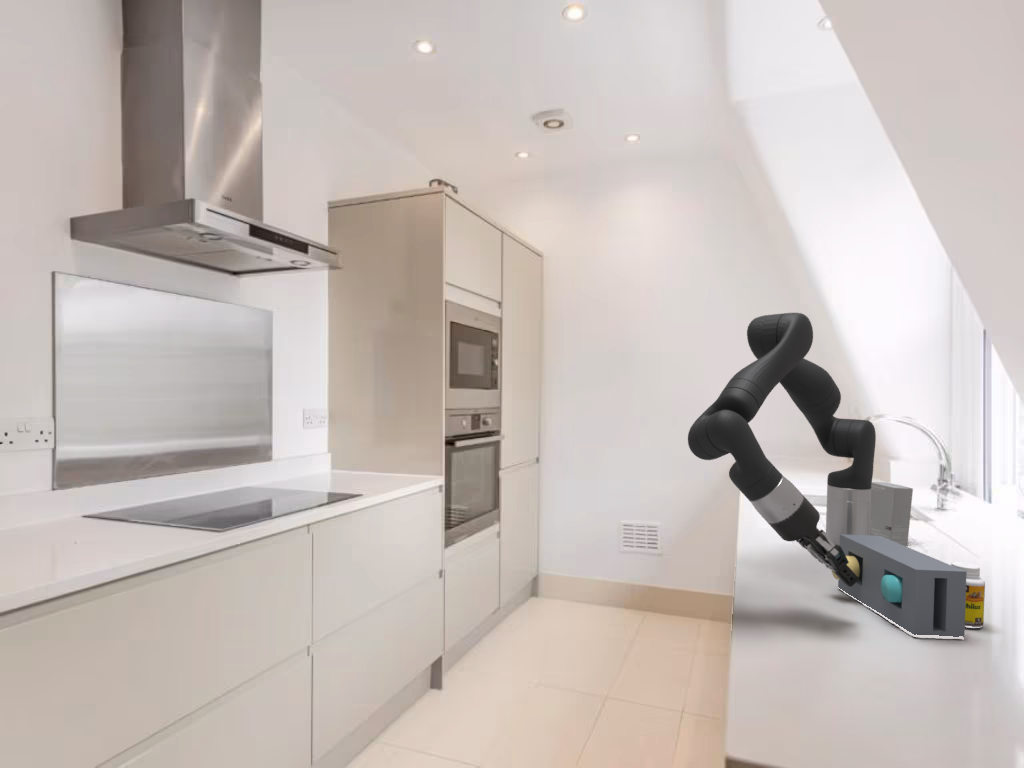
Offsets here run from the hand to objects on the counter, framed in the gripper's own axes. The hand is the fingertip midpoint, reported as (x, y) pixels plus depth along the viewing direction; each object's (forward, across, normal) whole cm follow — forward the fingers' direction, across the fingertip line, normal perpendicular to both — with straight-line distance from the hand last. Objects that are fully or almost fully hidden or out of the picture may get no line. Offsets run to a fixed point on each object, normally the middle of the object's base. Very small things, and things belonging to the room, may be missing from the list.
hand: (852, 582), depth 105 cm
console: (+13, +6, -3) cm, 14 cm away
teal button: (+8, 0, -3) cm, 8 cm away
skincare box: (+34, +61, -25) cm, 74 cm away
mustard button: (+6, +12, -2) cm, 14 cm away
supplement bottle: (+19, +2, -9) cm, 21 cm away
